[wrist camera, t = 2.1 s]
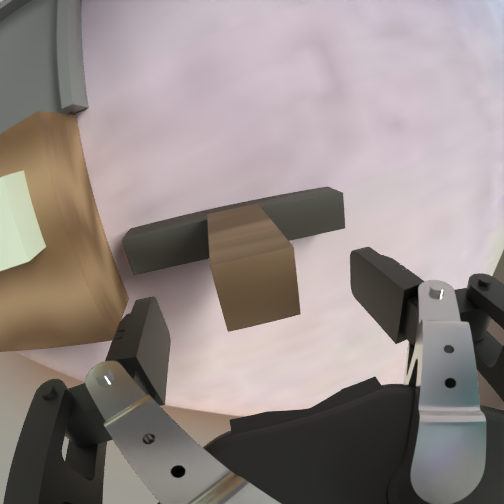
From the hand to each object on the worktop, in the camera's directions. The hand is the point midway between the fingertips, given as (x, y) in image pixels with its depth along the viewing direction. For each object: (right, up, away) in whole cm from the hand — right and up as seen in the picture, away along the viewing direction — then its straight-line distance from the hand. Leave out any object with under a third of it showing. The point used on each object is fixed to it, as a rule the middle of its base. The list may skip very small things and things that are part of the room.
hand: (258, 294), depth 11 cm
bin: (-21, +15, 0) cm, 26 cm away
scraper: (-1, +4, +8) cm, 9 cm away
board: (-18, +3, +5) cm, 19 cm away
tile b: (-14, +4, 0) cm, 15 cm away
